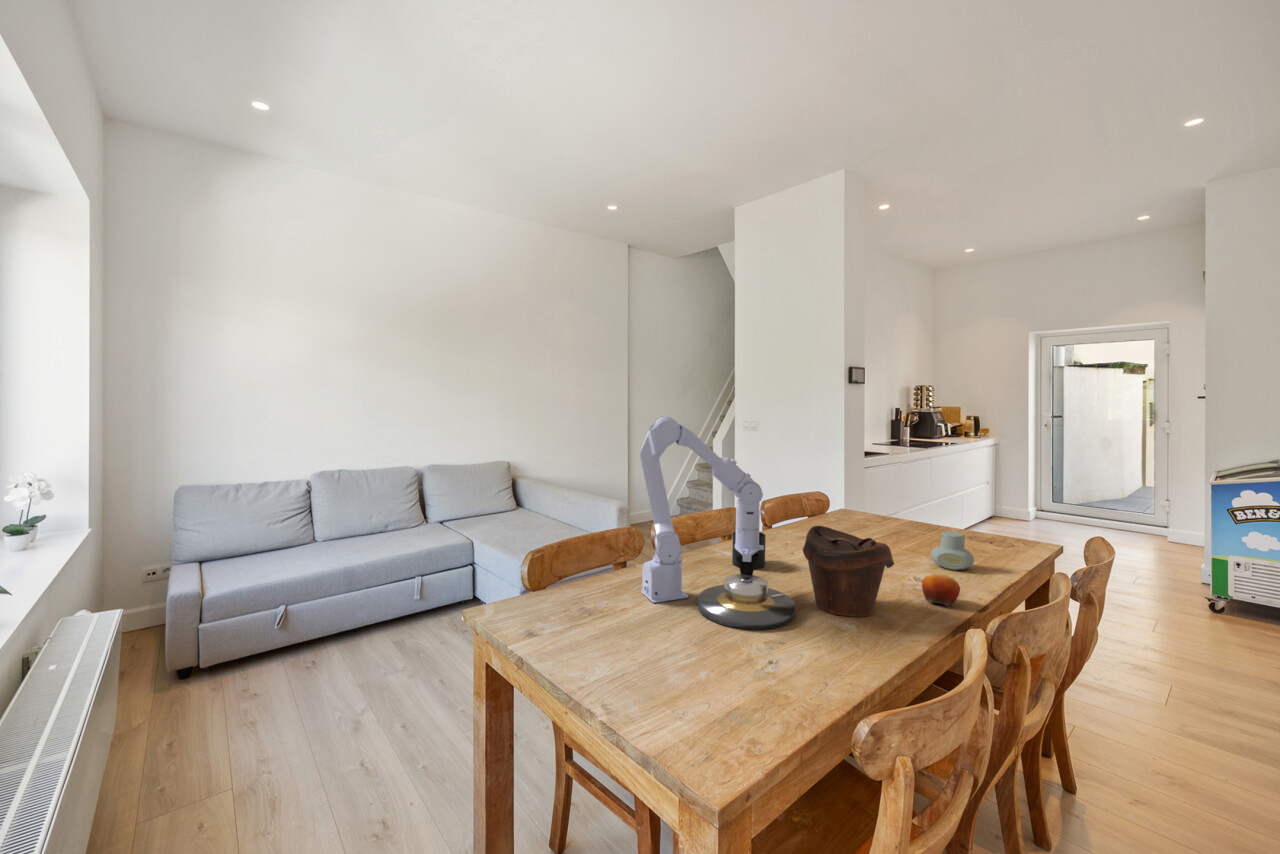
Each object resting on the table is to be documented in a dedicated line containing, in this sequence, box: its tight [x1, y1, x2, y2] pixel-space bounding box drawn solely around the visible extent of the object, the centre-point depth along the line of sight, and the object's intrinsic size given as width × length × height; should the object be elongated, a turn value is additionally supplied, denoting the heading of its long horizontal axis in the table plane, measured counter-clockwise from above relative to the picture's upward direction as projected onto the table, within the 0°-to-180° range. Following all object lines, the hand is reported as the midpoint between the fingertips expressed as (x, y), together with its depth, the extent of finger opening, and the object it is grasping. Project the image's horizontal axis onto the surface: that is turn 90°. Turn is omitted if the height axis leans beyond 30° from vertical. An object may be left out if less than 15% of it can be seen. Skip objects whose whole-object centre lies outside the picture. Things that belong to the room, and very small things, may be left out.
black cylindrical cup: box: [731, 531, 767, 570], centre depth 159 cm, size 9×12×9 cm
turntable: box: [697, 584, 796, 630], centre depth 125 cm, size 22×22×2 cm
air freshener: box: [930, 530, 975, 571], centre depth 157 cm, size 11×8×10 cm
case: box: [802, 525, 895, 618], centre depth 126 cm, size 18×20×18 cm
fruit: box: [921, 573, 961, 609], centre depth 130 cm, size 8×8×8 cm
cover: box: [724, 573, 769, 604], centre depth 127 cm, size 10×10×4 cm
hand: (746, 582), depth 134 cm, fingers closed
